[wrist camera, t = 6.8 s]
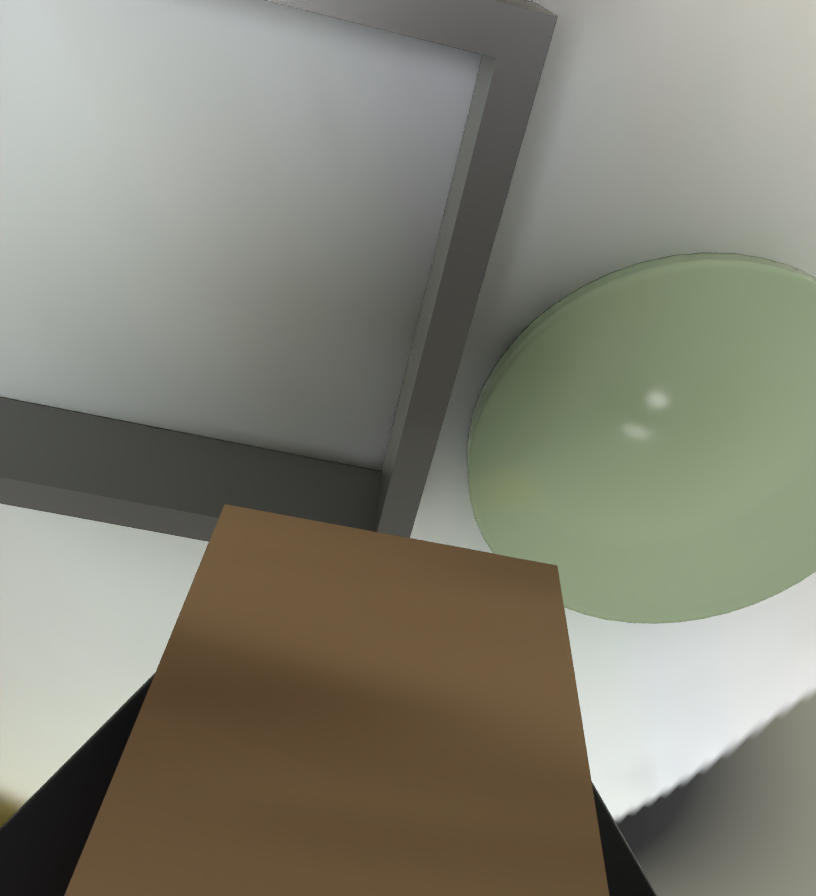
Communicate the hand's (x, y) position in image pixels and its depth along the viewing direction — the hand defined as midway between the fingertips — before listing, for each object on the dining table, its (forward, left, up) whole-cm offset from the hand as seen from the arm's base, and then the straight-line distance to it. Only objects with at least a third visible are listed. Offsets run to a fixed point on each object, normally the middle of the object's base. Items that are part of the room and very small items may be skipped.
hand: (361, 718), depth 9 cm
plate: (-2, -8, -12) cm, 14 cm away
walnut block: (0, 0, -1) cm, 1 cm away
